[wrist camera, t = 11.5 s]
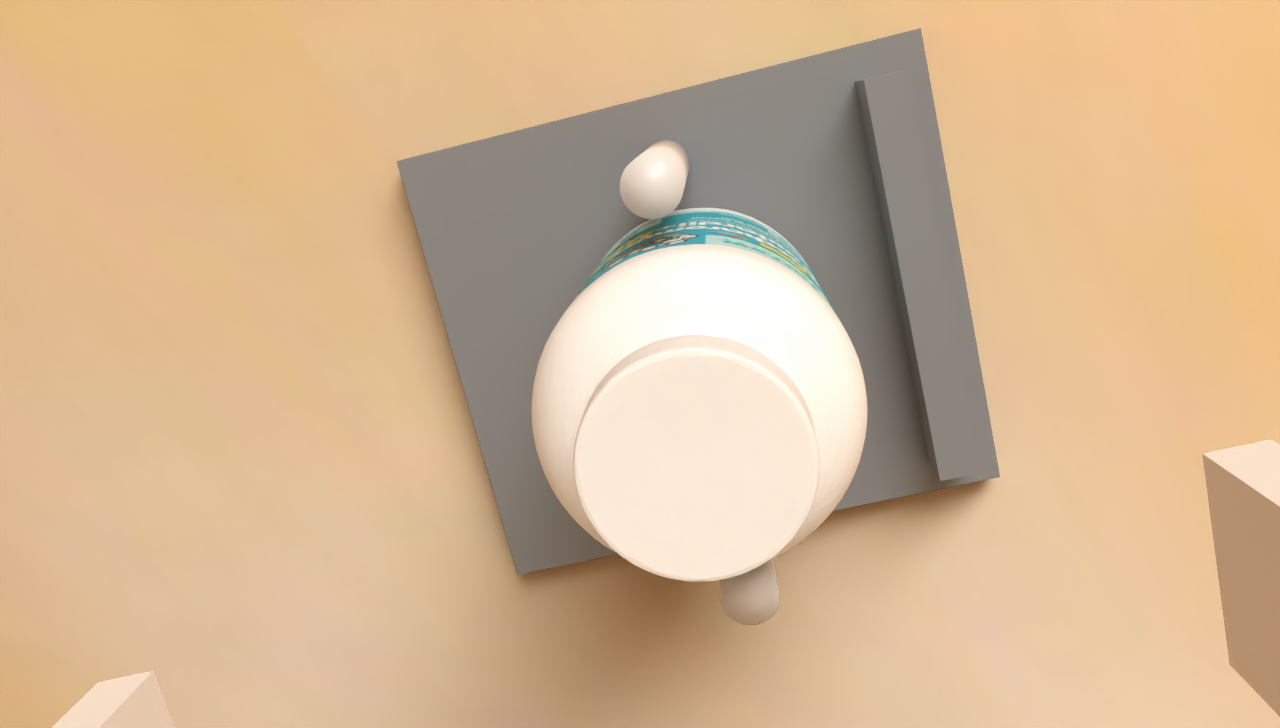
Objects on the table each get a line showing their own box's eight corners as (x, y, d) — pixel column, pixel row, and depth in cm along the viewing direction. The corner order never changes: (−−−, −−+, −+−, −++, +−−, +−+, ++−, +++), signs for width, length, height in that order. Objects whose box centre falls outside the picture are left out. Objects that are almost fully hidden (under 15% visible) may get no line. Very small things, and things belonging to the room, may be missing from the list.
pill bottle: (824, 201, 32) (910, 272, 19) (819, 436, 33) (895, 651, 20) (576, 205, 32) (490, 277, 19) (585, 437, 34) (512, 648, 21)
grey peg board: (522, 562, 36) (455, 730, 27) (405, 159, 33) (281, 183, 23) (991, 466, 34) (1103, 609, 25) (914, 30, 31) (1006, -2, 22)
